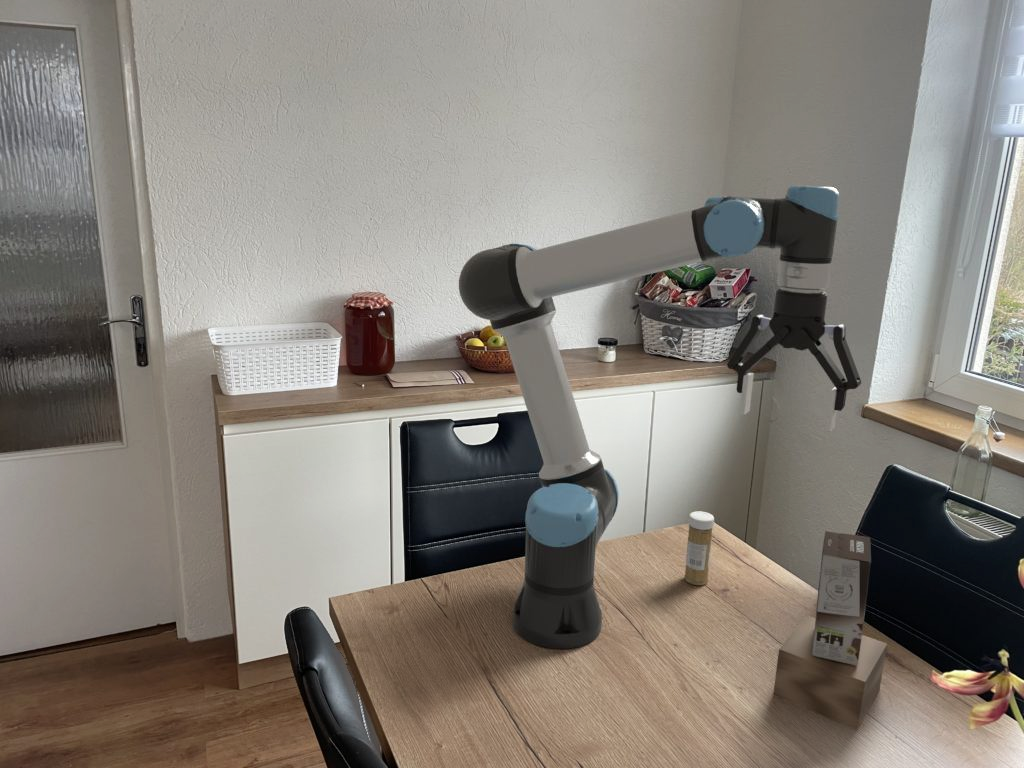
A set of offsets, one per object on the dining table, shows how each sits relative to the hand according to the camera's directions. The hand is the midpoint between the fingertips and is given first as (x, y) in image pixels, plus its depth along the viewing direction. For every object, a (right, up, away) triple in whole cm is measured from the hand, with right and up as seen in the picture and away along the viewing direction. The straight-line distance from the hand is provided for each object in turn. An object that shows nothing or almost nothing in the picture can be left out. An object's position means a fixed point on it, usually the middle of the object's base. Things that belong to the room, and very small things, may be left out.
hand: (786, 420), depth 126 cm
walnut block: (+3, -41, -8) cm, 41 cm away
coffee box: (+4, -33, -10) cm, 35 cm away
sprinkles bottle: (-9, -32, +23) cm, 40 cm away
